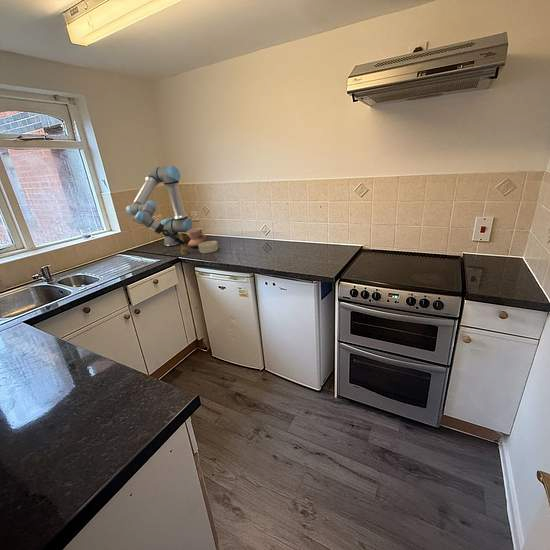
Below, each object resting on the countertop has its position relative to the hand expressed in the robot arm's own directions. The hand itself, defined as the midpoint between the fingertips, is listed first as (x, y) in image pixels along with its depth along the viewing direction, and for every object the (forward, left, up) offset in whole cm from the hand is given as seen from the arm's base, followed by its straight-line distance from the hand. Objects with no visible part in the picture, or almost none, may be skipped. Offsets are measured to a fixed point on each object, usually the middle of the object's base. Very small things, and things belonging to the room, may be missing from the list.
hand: (181, 242), depth 229 cm
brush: (0, 0, -9) cm, 9 cm away
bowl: (-3, +19, -9) cm, 22 cm away
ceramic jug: (-18, +4, -9) cm, 21 cm away
